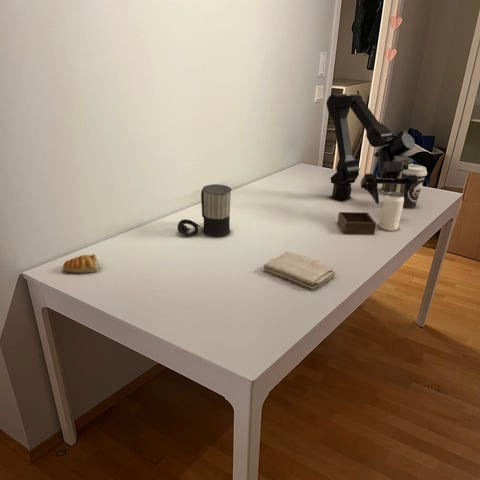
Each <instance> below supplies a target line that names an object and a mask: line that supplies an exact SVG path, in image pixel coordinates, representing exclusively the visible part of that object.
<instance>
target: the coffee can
mask: <svg viewBox="0 0 480 480" xmlns="http://www.w3.org/2000/svg"><path fill="white" fill-rule="evenodd" d="M402 160H408V162H409V165H413V162H414V159H413V158H412V157H409V156H405V155H402V156H400V157H397V156H396V161H402ZM397 178H402V172H400V176H397ZM400 187H401V184H381V189H380V192H381V193H382V194H385V195H387V193H388V192H399V193H400Z"/></svg>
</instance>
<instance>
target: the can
mask: <svg viewBox="0 0 480 480" xmlns="http://www.w3.org/2000/svg"><path fill="white" fill-rule="evenodd" d="M403 196H404V194H402V193H399V192H388V193H387V194H385V196H384V199H383V204H382V208H381V213H380V218H379V225H378V226H379V228H380V229H381V230H384V231H389V232H394V231H396V230H398V228H399V225H400V220H401V217H402V212H403V203H404V197H403Z"/></svg>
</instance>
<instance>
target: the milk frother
mask: <svg viewBox="0 0 480 480" xmlns="http://www.w3.org/2000/svg"><path fill="white" fill-rule="evenodd" d="M231 192H232V188H231V187H230V186H228V185H224V184H218V183H217V184H214V183H213V184H206V185H204V186H202V189H201V192H200V201H201V202H200V203H201V217H202V218H203V226H201V225H199V224H198V223H197V222H195V221H193V220H191V219H186V218H185V219H181V220H180V221H179V222H178V223H177V232H179V233H180V234H181V235H183V236H186V237H192V236H193V237H194V236H195V235H197V234H198V233H199V231H200V229H202V233H203V234H204V235H205V236H208V237H211V238H222V237H227V236H228V235H230V233H231V229H230V226H231V225H230V223H231V222H230V219H231V217H230V216H231ZM188 225H190V226H192V227H193V228H194V230H193V231H191V232H190V229H191V228H189V227H188ZM199 228H200V229H199Z"/></svg>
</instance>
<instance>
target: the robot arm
mask: <svg viewBox="0 0 480 480" xmlns="http://www.w3.org/2000/svg"><path fill="white" fill-rule="evenodd" d="M363 99H364V98H363V96H362V95H361V94H358V93H357V94H349V95H347V94H346V93H337V94H336V93H334V94H330V95H329V96H328V97H327V100H326V108H327V113H328V115H329V116H330V117H331V119H332V120H333V124H334V131H335V140H336V146H337V151H338V161H337V164H336V172H335V173H334V174H333V175H331V177H330V184H333V188H332V194H331V195H329V198H330V199H333V200H337V201H339V202H344V201H347V200H351V199H352V196H351V194H352V184H355V183H356V180H357V178H358V177H359V175H360V171H361V168H360V164H359V163H360V161H359V159H357V158H356V159H355V158H354V156H353V151H352V146H351V139H350V131H349V123H348V116H349V113H350V110H351V111H352V112H353V114H354V115H355V116H356V118H357V119H358V121H359V122H360V124H361V125H362V127H363V129H365V132H366V133H365V134H366V139H367V141H368V143H369V145H370V146H371V147H372V148H377V150H376V152H375V153H374V155H373V156H374V157H375V158H378V165H379V168H378V173H379V177H378V176H377V173H365V174H364V175H363V176H362V179H361V180H360V188H361V189H364V190H365V191H367V192H368V194H370V196H371V198H372V199H373V200H374V202H375V204H376V205H378V204H379V203H380V198H379V191H378V185H379V184H380V185H382V184H401V187H402V189H401V193H402V194H404V196H403V197H404V203H403V205H404V204H405V201H406V198H407V194H408V191H409V190H410V189H412V188H413V187H414V186H415V185H416V184H417V183H418V176H417V175H406V176H405V177H404V178H397V176H400V172H403V170H407V169H408V168H409V162H408V160H402V161H396V156H397V157H400V156H404V155H405V154H407V153H408V152H410V150H412V149H413V148H414V147H415V145H416V144H415V138H413V137H412V135H411V134H409V133H408V132H407V130H401V131H399V133H398V134H394V133H393V132H392V131H391V129H390V128H388V127H387V125H385V124H383V123H382V122H380V121H379V120H378V119H377V118H376V116H375V115H374V114H373V112H372V111H371V109H370V108H369V106H368V105H367V104H366V102H365V101H364V100H363ZM380 147H381V148H380Z"/></svg>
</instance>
